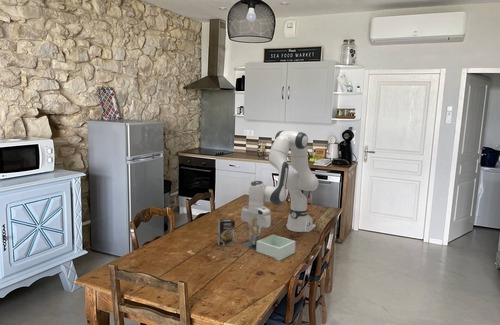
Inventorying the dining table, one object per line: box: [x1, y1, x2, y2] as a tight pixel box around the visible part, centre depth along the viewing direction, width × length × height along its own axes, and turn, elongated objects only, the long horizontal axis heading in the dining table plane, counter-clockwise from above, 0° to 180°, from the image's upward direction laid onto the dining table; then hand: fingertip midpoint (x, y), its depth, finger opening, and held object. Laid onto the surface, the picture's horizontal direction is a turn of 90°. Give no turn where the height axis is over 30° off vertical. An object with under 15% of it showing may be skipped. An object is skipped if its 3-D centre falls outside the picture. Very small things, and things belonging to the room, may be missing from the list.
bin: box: [255, 234, 296, 261], centre depth 215 cm, size 16×16×7 cm
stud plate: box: [240, 241, 257, 251], centre depth 224 cm, size 12×12×5 cm
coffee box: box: [217, 217, 236, 247], centre depth 223 cm, size 9×6×16 cm
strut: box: [248, 217, 261, 245], centre depth 223 cm, size 4×4×16 cm
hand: (254, 231), depth 223 cm, fingers closed on strut, 4 cm apart
